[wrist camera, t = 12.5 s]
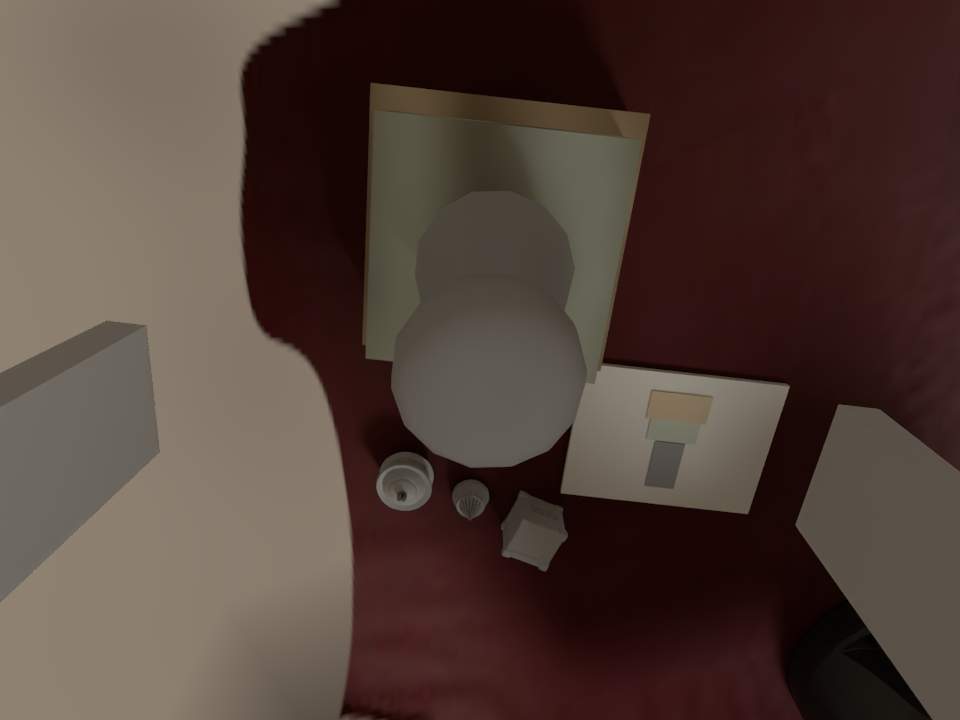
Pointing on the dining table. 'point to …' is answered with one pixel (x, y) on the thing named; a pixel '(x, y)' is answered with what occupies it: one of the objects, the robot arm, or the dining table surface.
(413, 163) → the zigzag patterned box
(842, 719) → the robot arm
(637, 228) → the dining table surface
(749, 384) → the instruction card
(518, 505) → the toy set
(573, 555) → the dining table surface
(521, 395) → the salt shaker
